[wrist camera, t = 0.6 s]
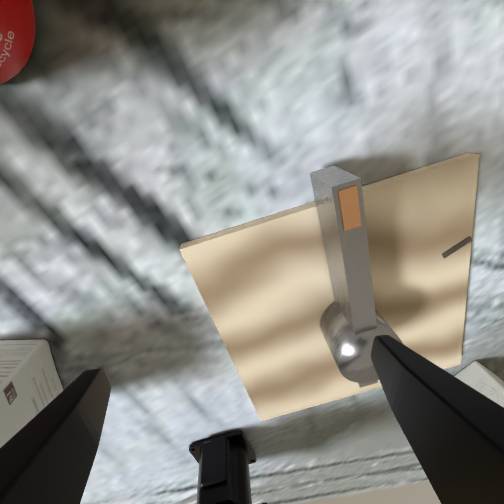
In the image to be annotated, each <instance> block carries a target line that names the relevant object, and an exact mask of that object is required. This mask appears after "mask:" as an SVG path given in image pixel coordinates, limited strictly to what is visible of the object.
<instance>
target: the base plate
mask: <svg viewBox="0 0 504 504" xmlns="http://www.w3.org/2000/svg"><path fill="white" fill-rule="evenodd" d="M478 166H479V154H473V153H466V154H463V155H459V156H456V157H453V158H450V159H447V160H444V161H441V162H437V163H434V164H431V165H428V166H425V167H422V168H418V169H415V170H412V171H409V172H406V173H403V174H400V175H396V176H393V177H390V178H387V179H384V180H381V181H378V182H374V183H371V184H368V185H365V186H362V192H363V201H364V211H365V220H366V229H367V239H368V248H369V257H370V267H371V276H372V285H373V294H374V304H375V308H376V310H377V311H378V312H379V313H380V315H381V316H382V317H383V318H384V320H385V321H386V322H387V323H388V325H389V326H390V327H391V328H392V330H393V331H394V332H395V333H396V335H397V336H398V337H399V338H400V340H401V341H402V342H403V344H404V345H405V346H407V347H409V348H410V349H412V350H413V351H415V352H416V353H418V354H420V355H421V356H423V357H424V358H426V359H428V360H429V361H431V362H432V363H434V364H435V365H437V366H439V367H440V368H442V369H446V368H450V367H453V366H457V365H460V364H461V353H462V342H463V331H464V320H465V309H466V298H467V287H468V276H469V265H470V254H471V243H472V232H473V221H474V210H475V199H476V188H477V177H478ZM180 251H181V253H182V256H183V258H184V260H185V262H186V264H187V266H188V268H189V270H190V272H191V275H192V277H193V279H194V281H195V283H196V285H197V287H198V289H199V291H200V293H201V296H202V298H203V300H204V302H205V304H206V306H207V308H208V310H209V312H210V315H211V317H212V319H213V321H214V323H215V325H216V327H217V329H218V331H219V334H220V336H221V338H222V340H223V342H224V344H225V346H226V348H227V350H228V352H229V355H230V357H231V359H232V361H233V363H234V365H235V367H236V369H237V371H238V374H239V376H240V378H241V380H242V382H243V384H244V386H245V388H246V390H247V393H248V395H249V397H250V399H251V401H252V403H253V405H254V407H255V409H256V411H257V414H258V416H259V418H260V420H261V421H264V420H268V419H271V418H275V417H278V416H282V415H285V414H289V413H292V412H296V411H299V410H303V409H306V408H310V407H313V406H317V405H320V404H324V403H327V402H331V401H334V400H338V399H341V398H345V397H348V396H352V395H355V394H359V393H362V392H366V391H369V390H373V389H376V388H380V387H382V385H381V383H380V380H378V383H375V384H372V385H368V386H365V387H361V388H360V387H359V385H358V383H357V382H352V381H350V380H348V379H346V378H345V377H343V375H342V374H341V373H340V371H339V368H338V366H337V364H336V362H335V360H334V358H333V355H332V353H331V351H330V349H329V347H328V345H327V343H326V340H325V338H324V336H323V334H322V332H321V329H320V319H321V316H322V314H323V313H324V311H325V310H326V309H327V308H328V307H329V306H330V305H331V304H332V303H334V302H335V301H334V296H333V290H332V285H331V280H330V275H329V270H328V264H327V259H326V254H325V249H324V244H323V239H322V233H321V228H320V223H319V218H318V213H317V207H316V202H311V203H308V204H305V205H302V206H299V207H296V208H292V209H289V210H286V211H283V212H280V213H277V214H274V215H270V216H267V217H264V218H261V219H258V220H255V221H252V222H248V223H245V224H242V225H239V226H236V227H233V228H230V229H226V230H223V231H220V232H217V233H214V234H211V235H207V236H204V237H201V238H198V239H195V240H192V241H189V242H185V243H182V244H181V247H180Z"/></svg>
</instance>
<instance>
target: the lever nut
mask: <svg viewBox="0 0 504 504" xmlns="http://www.w3.org/2000/svg"><path fill="white" fill-rule="evenodd" d="M310 176H311V182H312V187H313V192H314V197H315V202H316V207H317V213H318V218H319V223H320V228H321V233H322V239H323V244H324V249H325V254H326V259H327V264H328V270H329V275H330V280H331V285H332V290H333V296H334V301H335V302H334V303H332V304H331V305H330V306H329V307H328V308H327V309H326V310H325V311H324V313H323V314H322V316H321V319H320V329H321V332H322V334H323V336H324V338H325V340H326V343H327V345H328V347H329V349H330V351H331V353H332V355H333V358H334V360H335V362H336V364H337V366H338V368H339V371H340V373H341V374H342V375H343V377H345V378H346V379H348V380H350V381H352V382H357V383H358V385H359V387H360V388H361V387H365V386H368V385H372V384H375V383H378V380H379V378H378V375H377V373H376V371H375V368H374V366H373V363H372V361H371V350H372V345H373V340H374V337H375V336H378V335H389V336H391V337H393V338H394V339H396V340H397V341H399V342H401V343H402V344H403V342H402V341H401V340H400V338H399V337H398V336H397V335H396V333H395V332H394V331H393V330H392V328H391V327H390V326H389V325H388V323H387V322H386V321H385V320H384V318H383V317H382V316H381V315H380V313H379V312H378V311H377V310H376V308H375V304H374V294H373V285H372V276H371V267H370V257H369V248H368V239H367V229H366V220H365V211H364V201H363V192H362V183H361V178H360V177H358V176H356V175H353V174H351V173H349V172H347V171H345V170H342V169H340V168H338V167H336V166H330V167H327V168H324V169H321V170H318V171H315V172H311V173H310Z"/></svg>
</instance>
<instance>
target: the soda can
mask: <svg viewBox="0 0 504 504" xmlns="http://www.w3.org/2000/svg"><path fill="white" fill-rule="evenodd" d="M34 40H35V13H34V7H33V2H32V0H0V84H2V83H5V82H7V81H9V80H10V79H12V78H13V77H15V76H16V75H17V74H18V73H19V72H20V71H21V70H22V69H23V67H24V66H25V65H26V63H27V61H28V59H29V57H30V55H31V52H32V49H33V45H34Z"/></svg>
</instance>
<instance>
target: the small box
mask: <svg viewBox="0 0 504 504" xmlns="http://www.w3.org/2000/svg"><path fill="white" fill-rule="evenodd" d="M454 377H456V378H458V379H459V380H461V381H462V382H464V383H466V384H467V385H469V386H470V387H472V388H474V389H475V390H477V391H478V392H480V393H481V394H483V395H485V396H486V397H488V398H489V399H491V400H493V401H494V402H496V403H497V404H499V405H500V406H502V407H504V382H503V381H502V380H501V379H500V378H499V377H498V376H496V375H495V374H494V373H492V372H491V371H490V370H488V369H487V368H486V367H484V366H483V365H481V364H480V363H479V362H477V361H474V362H472V363H471V364H470V365H468V366H467V367H466V368H464V369H463V370H461V371H460V372H459V373H457V374H456V375H455V376H454Z"/></svg>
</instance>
